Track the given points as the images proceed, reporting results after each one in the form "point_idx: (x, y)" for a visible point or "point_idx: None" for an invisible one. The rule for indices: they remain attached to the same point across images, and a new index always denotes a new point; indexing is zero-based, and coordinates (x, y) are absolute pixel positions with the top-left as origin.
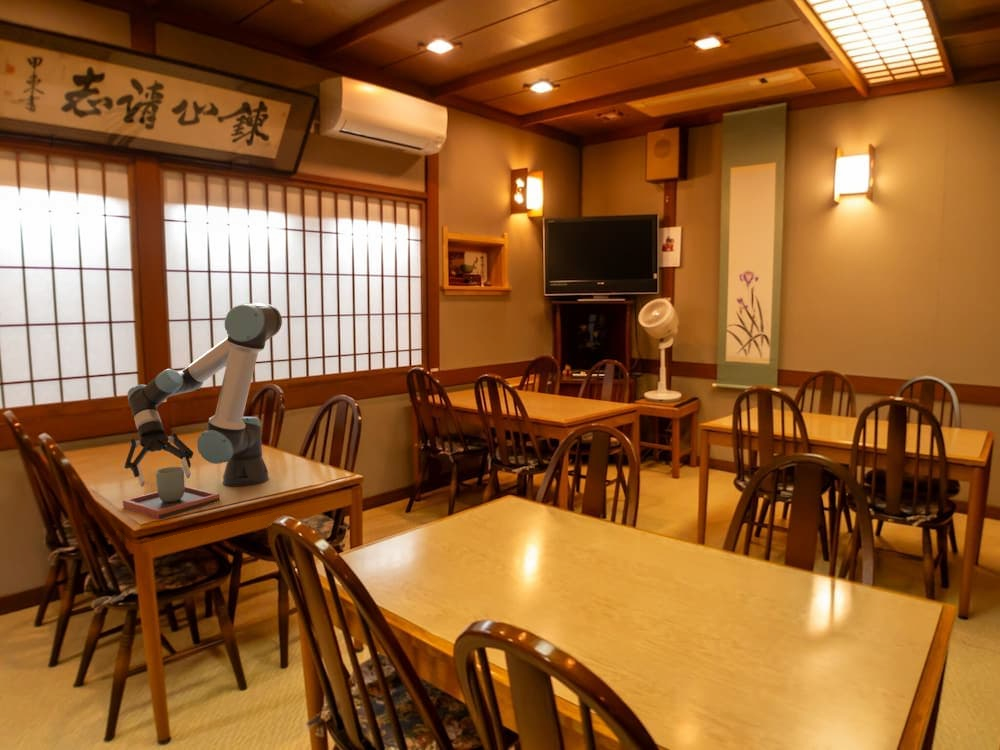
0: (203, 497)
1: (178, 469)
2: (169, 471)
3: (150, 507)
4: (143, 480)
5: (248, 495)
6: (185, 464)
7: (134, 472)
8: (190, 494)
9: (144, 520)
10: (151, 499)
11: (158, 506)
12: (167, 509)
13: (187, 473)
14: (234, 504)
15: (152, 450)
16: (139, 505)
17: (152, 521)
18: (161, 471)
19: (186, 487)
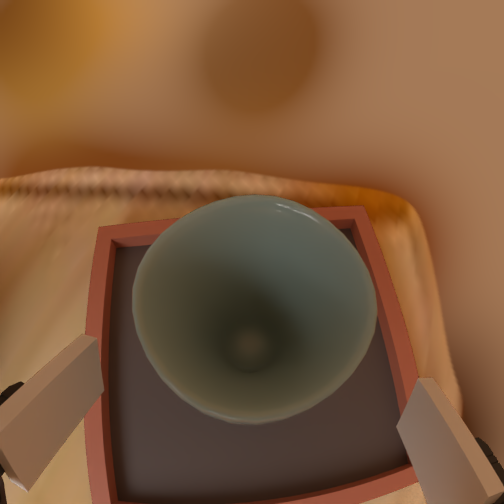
0: (159, 231)
1: (155, 323)
2: (218, 390)
3: (378, 268)
4: (427, 384)
5: (30, 232)
6: (43, 386)
7: (491, 451)
8: (133, 386)
9: (394, 248)
10: (310, 464)
11: None
12: (329, 209)
13: (91, 358)
14: (114, 184)
15: None
16: (407, 334)
17: (375, 220)
18: (301, 388)
19: (105, 464)
